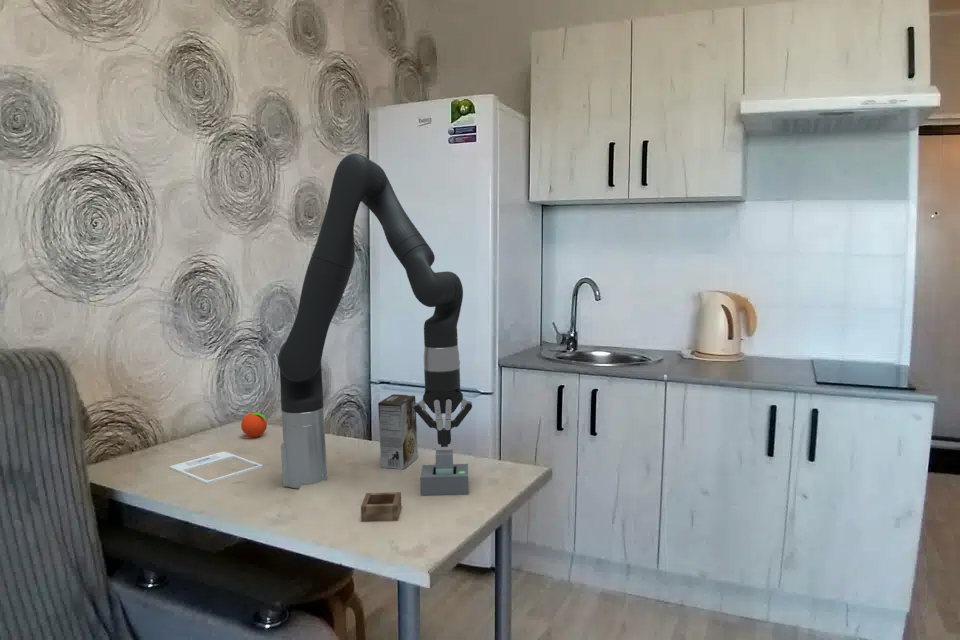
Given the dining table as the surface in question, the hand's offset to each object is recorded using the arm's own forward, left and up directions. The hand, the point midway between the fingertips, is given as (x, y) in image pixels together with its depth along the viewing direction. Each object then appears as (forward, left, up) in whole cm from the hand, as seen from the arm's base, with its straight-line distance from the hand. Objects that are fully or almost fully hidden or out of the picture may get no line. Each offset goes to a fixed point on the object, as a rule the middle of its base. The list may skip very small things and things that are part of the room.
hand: (444, 445), depth 149 cm
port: (0, 0, -10) cm, 10 cm away
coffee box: (-12, +21, -11) cm, 26 cm away
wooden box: (-12, -13, -10) cm, 21 cm away
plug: (0, 0, -9) cm, 9 cm away
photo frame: (-57, +21, -11) cm, 62 cm away
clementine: (-55, +47, -11) cm, 73 cm away
